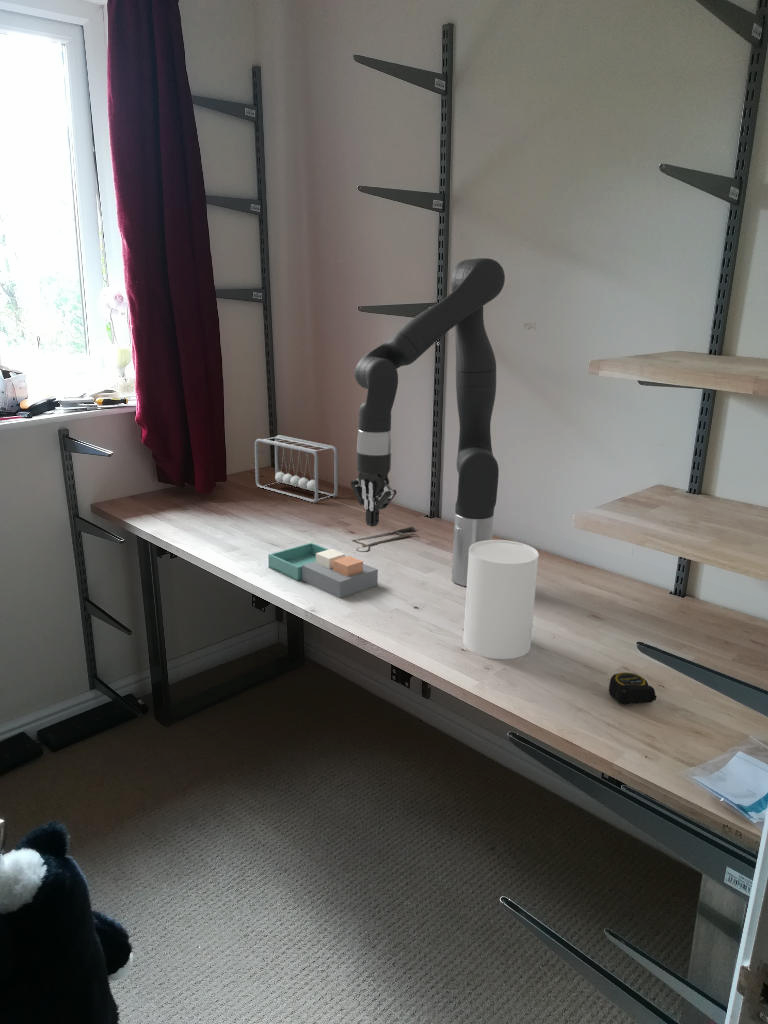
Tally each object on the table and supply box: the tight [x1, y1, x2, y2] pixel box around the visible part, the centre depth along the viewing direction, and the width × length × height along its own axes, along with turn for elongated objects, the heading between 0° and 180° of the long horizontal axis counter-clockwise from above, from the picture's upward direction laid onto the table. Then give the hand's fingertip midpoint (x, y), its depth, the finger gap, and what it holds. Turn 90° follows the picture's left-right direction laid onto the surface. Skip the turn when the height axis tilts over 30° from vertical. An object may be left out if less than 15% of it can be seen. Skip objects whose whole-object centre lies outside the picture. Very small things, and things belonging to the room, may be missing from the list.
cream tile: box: [316, 548, 346, 569], centre depth 181 cm, size 5×5×2 cm
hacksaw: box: [350, 526, 419, 553], centre depth 211 cm, size 24×10×2 cm, turn 122°
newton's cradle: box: [254, 434, 339, 504], centre depth 253 cm, size 30×10×18 cm, turn 51°
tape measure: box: [608, 672, 657, 706], centre depth 132 cm, size 7×7×4 cm
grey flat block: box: [301, 555, 379, 599], centre depth 179 cm, size 14×12×4 cm
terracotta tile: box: [333, 555, 364, 576], centre depth 176 cm, size 5×5×2 cm
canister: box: [462, 539, 540, 660], centre depth 149 cm, size 14×14×20 cm
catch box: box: [267, 542, 330, 582], centre depth 189 cm, size 12×14×4 cm
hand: (372, 525), depth 168 cm, fingers closed
